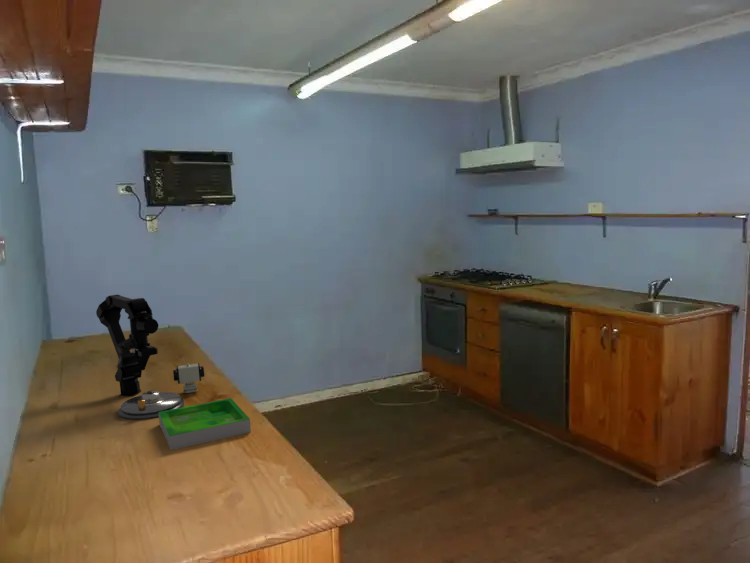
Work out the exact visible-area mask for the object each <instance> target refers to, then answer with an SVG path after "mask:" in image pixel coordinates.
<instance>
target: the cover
mask: <svg viewBox="0 0 750 563" xmlns="http://www.w3.org/2000/svg"><path fill="white" fill-rule="evenodd" d="M159 392H160V391H159V390H149V391H145V392H143V393H141V395H142V399H145V404H154V403H157V402H159V401H160V395H159Z"/></svg>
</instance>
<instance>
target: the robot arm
mask: <svg viewBox="0 0 750 563" xmlns="http://www.w3.org/2000/svg"><path fill="white" fill-rule="evenodd" d="M122 310H124V313H126V314H127V315H128V316H127V319H128V320H129V325H130V327H129V328H130V333H129V335H128V338H127V339H126V338H125V334H124V332H123V328H122V326H121V324H120V320H121V312H122ZM95 314H96V317H97V318H98V320H99V322H100V324H102V325H103V326H104V327H105V328H107V331H108V333H109V336H110V339H111V341H112V345H113V346H114V349H115V352H116V354H117V357H118V358H117V359H118V361H117V364H116V368H117V370H116V372H115V374H114V378H115V381H116V382H118V383H119V387H120V389H119V390H120V393H119V394H118V396H119V397H133V396H134V397H135V396H136V395H138V394H139V393H141V392H142V390H141V386H140V380H139V378H142V372H143V371H144V370H145V369H146V367H147V364H148V361H149V360H150V357H151V356H154V355H158V353H159V352H158V348H157V347H155V346H153V345H151V343H150V342H149V338H148V336H150V334H151V335H152V334H154V333H156V332H157V331H158V329H159V323H158V321H157V320H156V319H154V317H153V310H152V308H151V307H150V305H149V304H148V301H147V300H146V299H145V298H144V297H139V298H138V297H137V298H129V297H126V296H123V295H120V294H112V295H108V296H105V299H104V300H103V301H102V302H100V303H99V304H98V307H97V308H96V312H95Z"/></svg>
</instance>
